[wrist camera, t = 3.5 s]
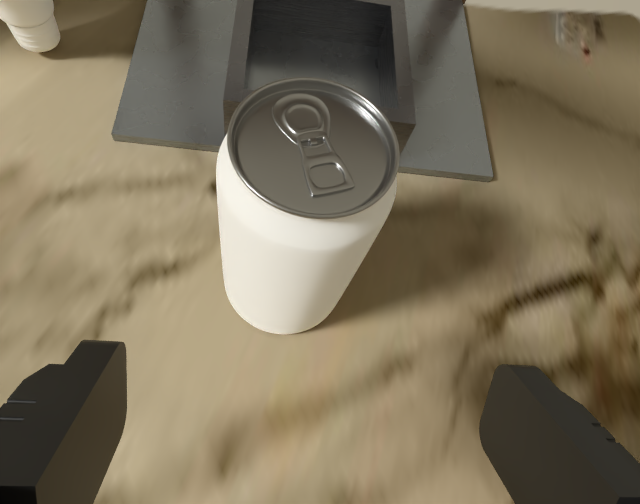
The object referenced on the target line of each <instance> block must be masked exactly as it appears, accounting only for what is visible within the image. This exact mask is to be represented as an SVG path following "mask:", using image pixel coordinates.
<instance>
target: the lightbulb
mask: <svg viewBox="0 0 640 504" xmlns="http://www.w3.org/2000/svg"><path fill="white" fill-rule="evenodd" d="M53 12H54V3H53V0H0V19H1V20H3V21H4V22H6V23H7V26H8V27H9V29H10V30H11V33H12V34H13V35H14V37H15V39H16V40H17V42H18V43H19V45H20V46H21V47H23V48H24V49H26V50H29V51H32V52H45V51H49V50H51V49H53V48H54V47H56V46H57V44H58V43H59V41H60V32H59V29H58V25H57V23H56V19H55V17H54V14H53Z"/></svg>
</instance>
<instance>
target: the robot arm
mask: <svg viewBox="0 0 640 504" xmlns="http://www.w3.org/2000/svg"><path fill="white" fill-rule="evenodd" d="M126 412H127V373H126V347H125V344H124V342H115V341H97V340H83V341H81V342H80V344H79V345H78V346H77V348H76V349H75V350H74V352H73V353H72V354H71V356H70V357H69V358H68V360H67V361H66V362H65V364H64V365H62V364H48V365H47V366H45V367H44V368H42V369H40V370H39V371H37V372H36V373H34V374H32V375H31V376H29V377H28V378H26V379H24V380H23V381H22V383H21V384H20V385H19V386H18V387H17V389H16V390H15V391H14V392H13V393H12V395H11V396H10V397H9V398H8V399H7V403H6V404H5V403H4V404H3V405H2V406H1V408H0V504H93V502H94V500H95V498H96V495H97V493H98V491H99V488H100V486H101V484H102V481H103V479H104V477H105V474H106V472H107V470H108V467H109V465H110V463H111V460H112V458H113V456H114V453H115V451H116V448H117V446H118V444H119V441H120V439H121V436H122V433H123V429H124V425H125V420H126ZM479 432H480V440H481V444H482V447H483V449H484V451H485V453H486V455H487V456H488V458H489V460H490V461H491V463H492V465H493V467H494V468H495V470H496V472H497V473H498V475H499V477H500V479H501V480H502V482H503V484H504V485H505V487H506V489H507V491H508V492H509V494H510V496H511V497H512V499H513V501H514V503H515V504H640V464H639V463H638V462H637V461H636V460H635V459H634V458H633V456H632V455H631V454H630V453H629V452H628V451H627V450H626V449H625V448H624V447H623V446H622V445H621V444H620V443H616V442H615V438H614V437H613V436H612V435H611V434H610V433H609V432H608V431H607V430H606V429H605V428H604V427H601V426H600V423H599V422H598V421H597V420H596V419H595V418H594V416H593V415H592V414H591V413H590V412H589V411H588V410H587V409H586V408H585V407H584V406H583V405H581V404H580V403H578V402H577V401H575V400H574V399H572V398H571V397H569V396H568V395H566V394H565V393H563V392H562V391H560V390H559V389H558V388H557V387H556V386H555V385H554V384H553V383H552V382H551V380H550V379H549V378H548V377H547V376H546V375H545V374H544V373H543V372H542V371H541V370H540V369H539V368H537V367H536V366H526V365H508V364H502V365H499V366H498V367H497V369H496V370H495V372H494V375H493V379H492V382H491V386H490V389H489V392H488V396H487V399H486V402H485V406H484V409H483V413H482V416H481V420H480V426H479Z"/></svg>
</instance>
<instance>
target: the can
mask: <svg viewBox="0 0 640 504" xmlns="http://www.w3.org/2000/svg"><path fill="white" fill-rule="evenodd" d="M399 160H400V153H399V145H398V140H397V137H396V134H395V132H394V129H393V127H392V125H391V124H390V122H389V120H388V119H387V118H386V116H385V115H384V114H383V112H382V111H381V110H380V109H379V108H378V107H377V106H376V105H375V104H374V103H373V102H372V101H370V100H369V99H368V98H367V97H365V96H364V95H362V94H361V93H359V92H357V91H356V90H354V89H352V88H350V87H348V86H345V85H343V84H340V83H337V82H334V81H331V80H327V79H322V78H315V77H292V78H285V79H280V80H277V81H273V82H270V83H268V84H266V85H263V86H261V87H259V88H258V89H256V90H255V91H253V92H252V93H250V94H249V95H248V96H247V97H246V98H245V99H244V100H243V101H242V102H241V103H240V104H239V105H238V107H237V108H236V110H235V112H234V113H233V115H232V118H231V120H230V123H229V127H228V132H227V134H226V136H225V138H224V140H223V142H222V144H221V146H220V149H219V153H218V158H217V166H216V186H217V202H218V216H219V230H220V243H221V255H222V267H223V277H224V285H225V290H226V293H227V296H228V299H229V301H230V303H231V305H232V306H233V308H234V309H235V311H236V312H237V313H238V314H239V315H240V316H241V317H242V318H243V319H244V320H245V321H246V322H248V323H249V324H251V325H252V326H254V327H256V328H258V329H260V330H263V331H266V332H270V333H275V334H294V333H299V332H303V331H306V330H308V329H311V328H313V327H314V326H316V325H318V324H319V323H321V322H322V321H323V320H324V319H325V318H326V317H327V316H328V315H329V314H330V313H331V312H332V310H333V309H334V307H335V306H336V304H337V303H338V301H339V300H340V298H341V296H342V295H343V293H344V291H345V290H346V288H347V286H348V285H349V283H350V281H351V280H352V278H353V276H354V275H355V273H356V271H357V270H358V268H359V266H360V264H361V263H362V261H363V259H364V258H365V256H366V254H367V253H368V251H369V249H370V247H371V246H372V244H373V242H374V241H375V239H376V237H377V235H378V234H379V232H380V230H381V228H382V227H383V225H384V223H385V221H386V219H387V217H388V215H389V213H390V211H391V208H392V206H393V203H394V200H395V196H396V189H397V176H396V175H397V172H398V167H399Z"/></svg>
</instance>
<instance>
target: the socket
mask: <svg viewBox="0 0 640 504" xmlns="http://www.w3.org/2000/svg"><path fill="white" fill-rule="evenodd" d="M292 77H315V78H322V79H327V80H331V81H334V82H337V83H340V84H343V85H345V86H348V87H350V88H352V89H354V90H356V91H357V92H359V93H361V94H362V95H364V96H365V97H367V98H368V99H369V100H370V101H372V102H373V103H374V104H375V105H376V106H377V107H378V108H379V109H380V110H381V111H382V112H383V114H384V115H385V116H386V118H387V119H388V120H389V122H390V124H391V125H392V127H393V129H394V132H395V134H396V137H397V140H398V145H399V153H400V160H399V167H398V172H404V173H413V174H422V175H431V176H440V177H449V178H458V179H467V180H476V181H485V182H489V181H490V180H491V179H492V178H493V171H492V166H491V160H490V154H489V149H488V143H487V137H486V132H485V126H484V121H483V115H482V109H481V104H480V98H479V92H478V87H477V81H476V75H475V70H474V64H473V59H472V53H471V47H470V42H469V36H468V30H467V25H466V19H465V13H464V8H463V2H462V0H147V4H146V7H145V11H144V15H143V19H142V22H141V26H140V30H139V33H138V37H137V41H136V45H135V48H134V52H133V56H132V59H131V63H130V67H129V71H128V74H127V78H126V82H125V85H124V89H123V93H122V97H121V100H120V104H119V108H118V111H117V115H116V119H115V123H114V126H113V130H112V137H113V139H114V140H115V141H124V142H133V143H142V144H151V145H160V146H169V147H178V148H187V149H196V150H205V151H214V152H219V149H220V146H221V144H222V142H223V140H224V138H225V136H226V134H227V132H228V127H229V123H230V120H231V118H232V115H233V113H234V112H235V110H236V108H237V107H238V105H239V104H240V103H241V102H242V101H243V100H244V99H245V98H246V97H247V96H248V95H249V94H250V93H252V92H253V91H255V90H256V89H258V88H259V87H261V86H263V85H266V84H268V83H270V82H273V81H277V80H280V79H285V78H292Z"/></svg>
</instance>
